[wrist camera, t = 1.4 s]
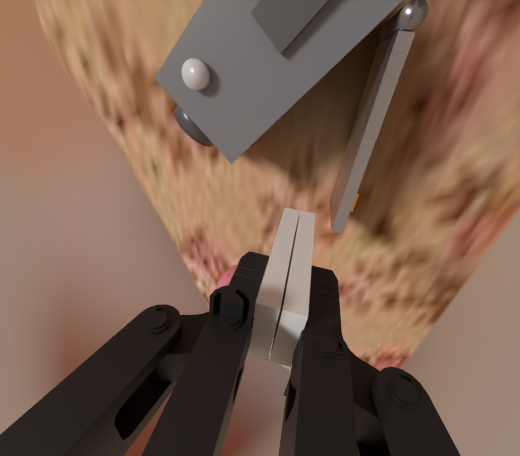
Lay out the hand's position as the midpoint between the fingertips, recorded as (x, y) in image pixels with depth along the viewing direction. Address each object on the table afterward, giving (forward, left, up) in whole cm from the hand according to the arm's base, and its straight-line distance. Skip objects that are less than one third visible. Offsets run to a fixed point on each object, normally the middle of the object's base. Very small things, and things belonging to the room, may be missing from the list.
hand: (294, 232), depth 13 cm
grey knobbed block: (-2, -10, -16) cm, 19 cm away
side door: (-5, +1, -16) cm, 17 cm away
